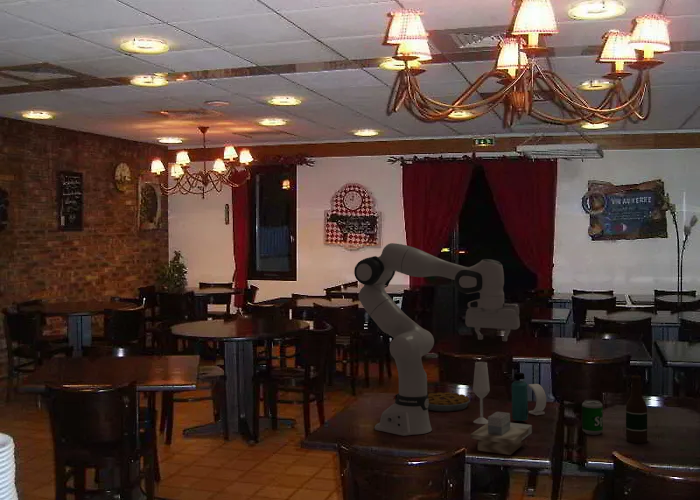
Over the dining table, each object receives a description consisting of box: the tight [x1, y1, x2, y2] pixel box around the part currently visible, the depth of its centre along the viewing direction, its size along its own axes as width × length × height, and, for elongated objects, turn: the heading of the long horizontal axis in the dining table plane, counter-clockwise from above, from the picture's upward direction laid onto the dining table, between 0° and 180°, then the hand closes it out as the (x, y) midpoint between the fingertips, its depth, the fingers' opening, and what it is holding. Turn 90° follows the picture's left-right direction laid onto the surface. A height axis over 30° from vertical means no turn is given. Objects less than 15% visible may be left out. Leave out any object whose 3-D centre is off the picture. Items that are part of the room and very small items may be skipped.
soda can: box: [581, 399, 604, 436], centre depth 301 cm, size 8×8×12 cm
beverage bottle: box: [511, 372, 529, 422], centre depth 317 cm, size 6×7×20 cm
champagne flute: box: [472, 361, 490, 425], centre depth 319 cm, size 7×7×24 cm
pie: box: [427, 391, 471, 412], centre depth 347 cm, size 22×22×5 cm
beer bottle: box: [625, 374, 648, 444], centre depth 289 cm, size 8×8×24 cm
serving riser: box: [469, 423, 528, 456], centre depth 282 cm, size 16×16×6 cm
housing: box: [487, 411, 511, 436], centre depth 282 cm, size 9×5×6 cm, turn 150°
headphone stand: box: [527, 383, 547, 416], centre depth 331 cm, size 5×6×12 cm
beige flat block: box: [510, 422, 533, 442], centre depth 300 cm, size 14×12×3 cm
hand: (492, 340), depth 293 cm, fingers open, 8 cm apart
